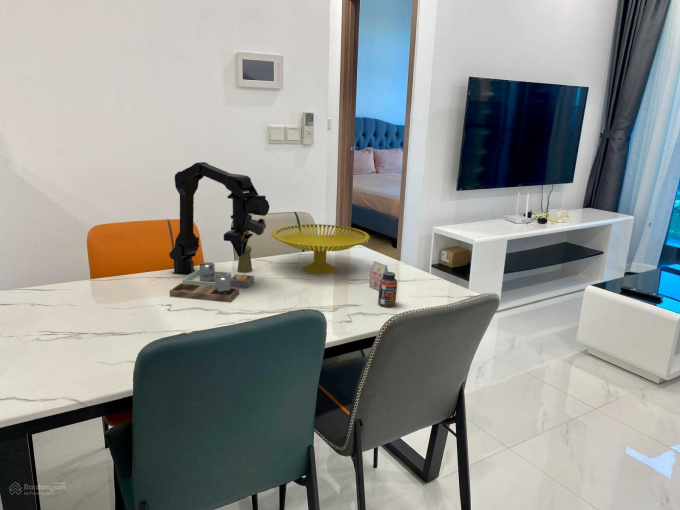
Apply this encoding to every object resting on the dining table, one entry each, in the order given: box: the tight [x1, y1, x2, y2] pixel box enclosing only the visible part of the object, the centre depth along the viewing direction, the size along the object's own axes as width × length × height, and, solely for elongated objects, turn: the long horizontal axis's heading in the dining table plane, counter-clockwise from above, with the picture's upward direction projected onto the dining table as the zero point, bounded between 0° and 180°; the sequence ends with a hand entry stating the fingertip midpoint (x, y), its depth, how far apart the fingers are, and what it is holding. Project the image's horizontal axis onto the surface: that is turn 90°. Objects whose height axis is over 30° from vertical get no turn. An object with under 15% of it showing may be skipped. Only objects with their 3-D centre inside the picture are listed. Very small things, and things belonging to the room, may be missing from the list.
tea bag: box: [368, 260, 389, 292], centre depth 189 cm, size 4×7×10 cm, turn 36°
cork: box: [236, 244, 253, 274], centre depth 203 cm, size 6×6×11 cm
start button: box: [236, 274, 247, 281], centre depth 185 cm, size 4×4×3 cm
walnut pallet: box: [169, 283, 240, 303], centre depth 173 cm, size 21×8×3 cm, turn 81°
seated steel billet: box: [215, 275, 232, 296], centre depth 172 cm, size 5×5×7 cm
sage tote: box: [181, 269, 232, 286], centre depth 187 cm, size 13×13×3 cm
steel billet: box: [199, 262, 216, 282], centre depth 187 cm, size 5×5×7 cm
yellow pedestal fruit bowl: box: [270, 223, 371, 275], centre depth 210 cm, size 40×40×15 cm
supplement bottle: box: [377, 271, 398, 308], centre depth 173 cm, size 6×6×11 cm
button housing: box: [231, 273, 255, 289], centre depth 186 cm, size 7×7×4 cm
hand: (241, 255), depth 183 cm, fingers open, 3 cm apart
